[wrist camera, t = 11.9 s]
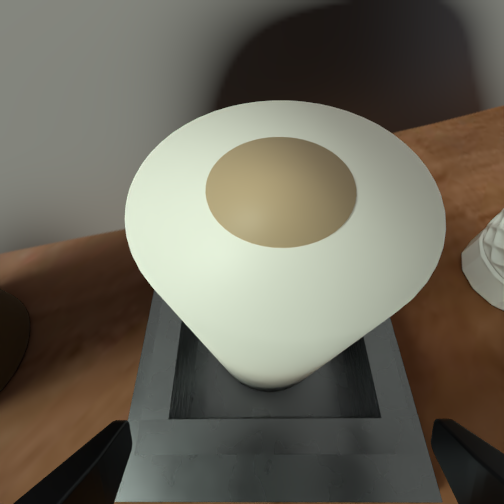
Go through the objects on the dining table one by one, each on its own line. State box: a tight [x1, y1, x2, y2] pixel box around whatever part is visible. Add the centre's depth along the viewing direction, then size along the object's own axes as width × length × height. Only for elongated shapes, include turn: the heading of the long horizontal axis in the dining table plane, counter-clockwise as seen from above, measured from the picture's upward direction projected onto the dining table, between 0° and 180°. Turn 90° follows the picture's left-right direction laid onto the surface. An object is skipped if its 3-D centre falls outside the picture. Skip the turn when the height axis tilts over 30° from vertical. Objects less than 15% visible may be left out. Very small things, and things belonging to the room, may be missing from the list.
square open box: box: [114, 290, 442, 502], centre depth 15 cm, size 16×16×5 cm
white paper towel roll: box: [125, 101, 446, 392], centre depth 11 cm, size 7×7×13 cm
